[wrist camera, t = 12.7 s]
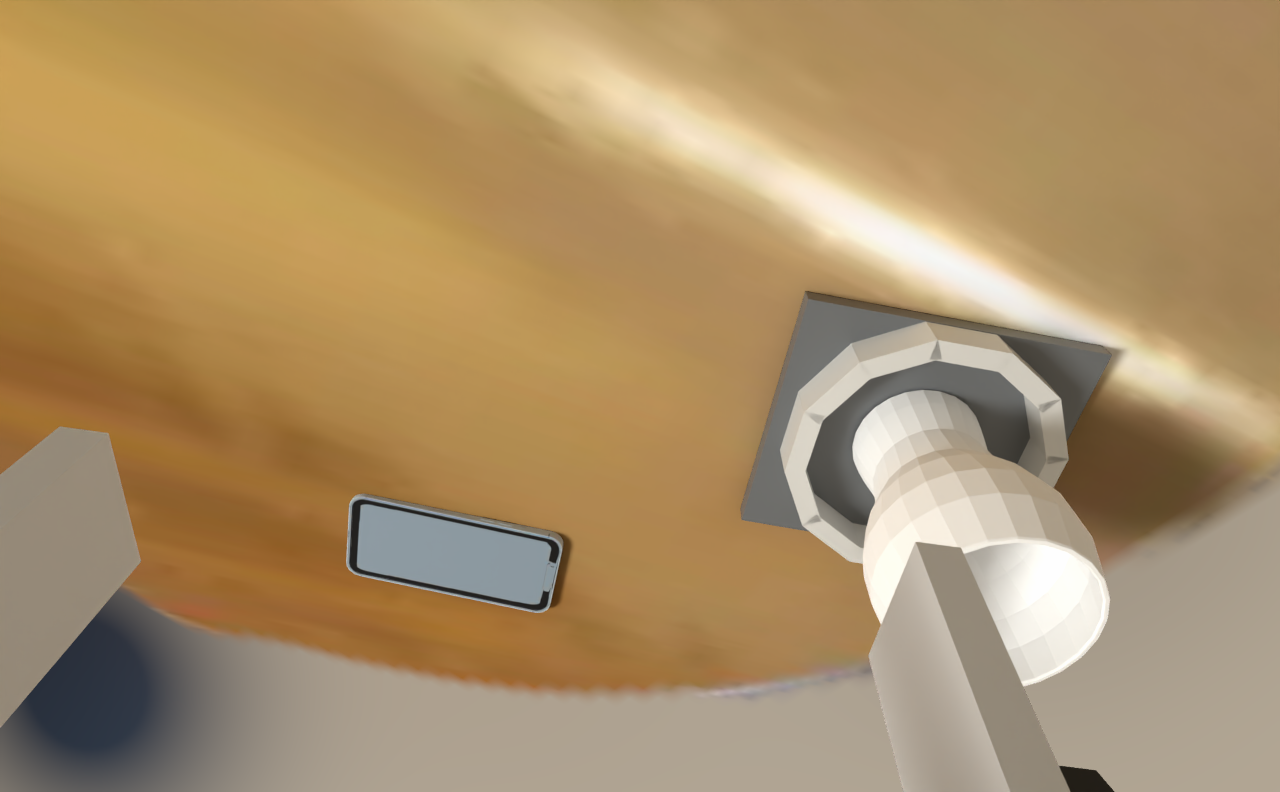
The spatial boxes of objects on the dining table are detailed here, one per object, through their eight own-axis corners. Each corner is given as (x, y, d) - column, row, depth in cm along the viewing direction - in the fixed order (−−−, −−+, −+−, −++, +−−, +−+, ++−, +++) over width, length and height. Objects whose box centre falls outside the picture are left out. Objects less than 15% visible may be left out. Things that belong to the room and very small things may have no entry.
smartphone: (349, 493, 54) (564, 539, 55) (355, 485, 55) (566, 530, 56) (345, 573, 58) (547, 615, 59) (350, 564, 59) (549, 606, 59)
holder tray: (805, 291, 46) (815, 316, 43) (1102, 346, 47) (1133, 374, 44) (740, 508, 54) (744, 544, 51) (996, 552, 55) (1016, 590, 51)
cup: (1039, 440, 49) (1172, 618, 36) (903, 539, 53) (976, 731, 40) (929, 333, 46) (1030, 485, 33) (793, 446, 50) (833, 622, 37)
